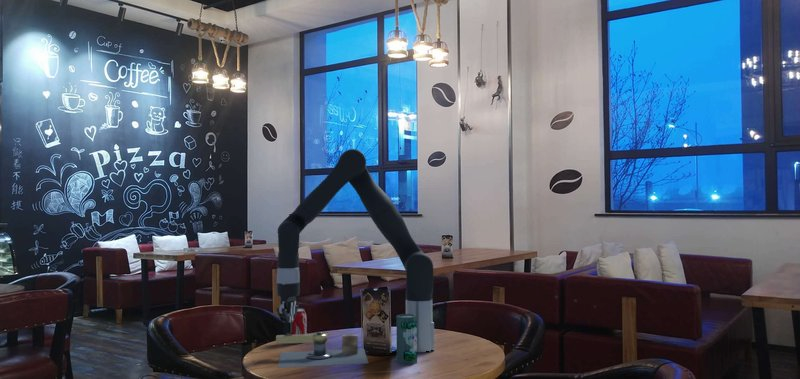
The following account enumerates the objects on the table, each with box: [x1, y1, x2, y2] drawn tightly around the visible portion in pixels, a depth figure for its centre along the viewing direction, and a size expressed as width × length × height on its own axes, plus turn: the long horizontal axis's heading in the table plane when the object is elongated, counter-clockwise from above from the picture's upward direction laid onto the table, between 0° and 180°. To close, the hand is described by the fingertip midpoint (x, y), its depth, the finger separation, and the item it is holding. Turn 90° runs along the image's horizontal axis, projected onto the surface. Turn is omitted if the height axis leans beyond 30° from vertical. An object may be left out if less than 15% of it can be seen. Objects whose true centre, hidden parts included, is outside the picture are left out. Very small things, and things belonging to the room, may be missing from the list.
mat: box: [277, 348, 369, 369], centre depth 200 cm, size 28×19×1 cm
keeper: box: [341, 333, 359, 355], centre depth 206 cm, size 5×3×6 cm, turn 98°
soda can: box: [286, 307, 308, 345], centre depth 223 cm, size 7×7×12 cm
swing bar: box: [275, 331, 328, 345], centre depth 201 cm, size 16×5×3 cm, turn 98°
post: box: [308, 341, 332, 360], centre depth 202 cm, size 8×8×5 cm
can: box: [395, 313, 418, 366], centre depth 194 cm, size 6×6×15 cm
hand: (288, 333), depth 204 cm, fingers closed
